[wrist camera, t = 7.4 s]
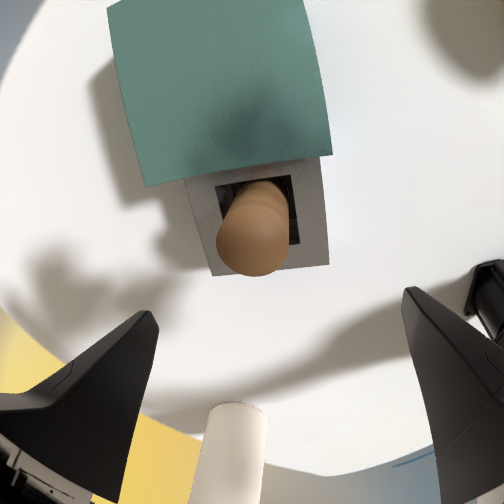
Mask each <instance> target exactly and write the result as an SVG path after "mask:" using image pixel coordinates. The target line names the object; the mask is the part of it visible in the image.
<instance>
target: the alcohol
mask: <svg viewBox="0 0 504 504" xmlns="http://www.w3.org/2000/svg"><path fill="white" fill-rule="evenodd" d="M267 429H268V419H267V417H266V415H265V414H264V412H263V411H262V410H260V409H259V408H257V407H255V406H252V405H249V404H244V403H237V402H227V403H221V404H219V405H217V406H216V407H214V408H213V409H212V410H211V411H210V413H209V417H208V421H207V426H206V430H205V434H204V438H203V442H202V447H201V451H200V455H199V459H198V464H197V468H196V472H195V477H194V481H193V485H192V489H191V494H190V498H189V502H188V504H259V500H260V492H261V483H262V475H263V467H264V458H265V449H266V439H267Z"/></svg>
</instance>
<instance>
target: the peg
mask: <svg viewBox="0 0 504 504" xmlns="http://www.w3.org/2000/svg"><path fill="white" fill-rule="evenodd" d="M216 248H217V252H218V255H219V256H220V258H221V260H222V261H223V262H224V264H225V265H226V266H228V267H229V268H230V269H231V270H233V271H235V272H237V273H239V274H242V275H245V276H253V277H256V276H264V275H267V274H270V273H272V272H274V271H275V270H277V269H278V268H279V267H280V266H281V265H282V264H283V263H284V261H285V260H286V258H287V255H288V251H289V203H288V188H287V185H286V183H285V181H284V180H283V178H282V177H281V176H275V177H268V178H262V179H255V180H249V181H243V183H242V185H241V187H240V189H239V191H238V192H237V194H236V196H235V198H234V200H233V202H232V204H231V206H230V208H229V210H228V212H227V214H226V216H225V218H224V220H223V222H222V224H221V226H220V228H219V230H218V233H217V236H216Z"/></svg>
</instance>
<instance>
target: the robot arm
mask: <svg viewBox="0 0 504 504" xmlns="http://www.w3.org/2000/svg"><path fill="white" fill-rule="evenodd" d="M401 312H402V317H403V321H404V326H405V330H406V335H407V340H408V345H409V350H410V354H411V357H412V360H413V364H414V367H415V370H416V374H417V377H418V381H419V384H420V388H421V392H422V396H423V399H424V403H425V407H426V412H427V416H428V420H429V425H430V430H431V434H432V440H433V445H434V450H435V456H436V458H437V459H436V463H437V470H438V477H439V485H440V494H441V504H464V503H466V502H468V501H471V500H473V499H475V498H476V504H504V260H501V261H496V262H491V263H486V264H480V265H479V266H478V267H477V268H476V271H475V275H474V279H473V283H472V286H471V290H470V293H469V296H468V300H467V303H466V306H465V309H464V315H465V316H470V315H474V314H476V315H477V317H478V318H479V320H480V322H481V323H482V325H483V327H484V328H485V330H486V332H487V334H488V335H489V337H490V339H491V340H490V339H489V338H488V337H487V338H486V336H485V335H484V334H482V333H481V332H480V331H478V330H477V329H476V328H474V327H473V326H472V325H470V324H469V323H468V322H466V321H465V320H463V319H462V318H461V317H459V316H458V315H457V314H455V313H454V312H452V311H451V310H450V309H448V308H447V307H445V306H444V305H443V304H441V303H440V302H438V301H437V300H436V299H434V298H433V297H431V296H430V295H428V294H427V293H425V292H424V291H422V290H421V289H420V288H418V287H416V286H413V287H407V288H405V289H404V293H403V299H402V306H401ZM158 335H159V326H158V324H157V322H156V320H155V318H154V316H153V315H152V313H151V312H150V311H149V310H141V311H138V312H137V313H136V314H134V315H133V316H132V317H130V318H129V319H128V320H126V321H125V322H123V323H122V324H121V325H119V326H118V327H117V328H115V329H114V330H113V331H111V332H110V333H108V334H107V335H106V336H104V337H103V338H102V339H100V340H99V341H98V342H96V343H95V344H94V345H92V346H91V347H90V348H88V349H87V350H86V351H84V352H83V353H82V354H80V355H79V356H77V357H76V358H75V359H74V360H72V361H71V362H69V363H68V364H67V365H65V366H64V367H63V368H61V369H60V370H59V371H57V372H56V373H54V374H53V375H51V376H50V377H48V378H47V379H45V380H44V381H42V382H41V383H39V384H37V385H36V386H34V387H33V388H31V389H30V390H28V391H26V392H24V393H19V394H9V393H0V504H95V503H93V502H91V498H92V495H93V493H94V494H96V495H98V496H100V497H102V498H105V499H107V500H109V501H111V502H114V503H116V504H118V500H119V496H120V491H121V486H122V481H123V477H124V472H125V467H126V463H127V457H128V454H129V449H130V446H131V442H132V437H133V433H134V430H135V426H136V422H137V418H138V414H139V411H140V407H141V403H142V400H143V396H144V393H145V389H146V386H147V382H148V379H149V375H150V372H151V369H152V365H153V360H154V355H155V350H156V345H157V340H158Z"/></svg>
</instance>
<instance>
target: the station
mask: <svg viewBox="0 0 504 504" xmlns="http://www.w3.org/2000/svg"><path fill="white" fill-rule="evenodd" d="M107 15H108V22H109V29H110V36H111V42H112V48H113V54H114V59H115V65H116V70H117V75H118V80H119V85H120V89H121V94H122V98H123V103H124V107H125V111H126V115H127V120H128V124H129V128H130V131H131V135H132V139H133V143H134V147H135V150H136V154H137V157H138V161H139V164H140V168H141V171H142V175H143V178H144V181H145V185H146V187H149V186H153V185H157V184H162V183H166V182H170V181H175V180H179V179H184V181H185V185H186V189H187V192H188V196H189V200H190V203H191V207H192V210H193V214H194V217H195V220H196V224H197V227H198V231H199V234H200V237H201V241H202V244H203V247H204V251H205V254H206V257H207V260H208V264H209V267H210V270H211V273H212V276H222V275H233V274H239V273H237V272H235V271H233V270H231V269H230V268H229V267H228V266H226V265H225V264H224V262H223V261H222V260H221V258H220V256H219V255H218V252H217V248H216V236H217V233H218V230H219V228H220V226H221V224H222V222H223V220H224V218H225V216H226V214H227V212H228V210H229V208H230V206H231V204H232V202H233V200H234V198H233V193H232V189H231V185H230V183H236V182H242V181H249V180H255V179H262V178H268V177H275V176H283V175H290V174H291V180H292V187H293V193H294V200H295V207H296V214H297V219H292V220H289V251H288V255H287V258H286V260H285V261H284V263H283V264H282V265H281V266H280V267H279V268H278V269H277V270H283V269H293V268H302V267H311V266H320V265H329V250H328V235H327V223H326V211H325V201H324V191H323V182H322V174H321V165H320V158H319V156H329V155H333V151H332V143H331V136H330V129H329V122H328V115H327V109H326V103H325V97H324V91H323V86H322V80H321V75H320V70H319V65H318V60H317V56H316V51H315V46H314V42H313V38H312V34H311V30H310V26H309V22H308V18H307V14H306V10H305V7H304V3H303V0H121V1H119V2H117V3H115V4H113V5H111V6H110V7H108V8H107Z"/></svg>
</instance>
